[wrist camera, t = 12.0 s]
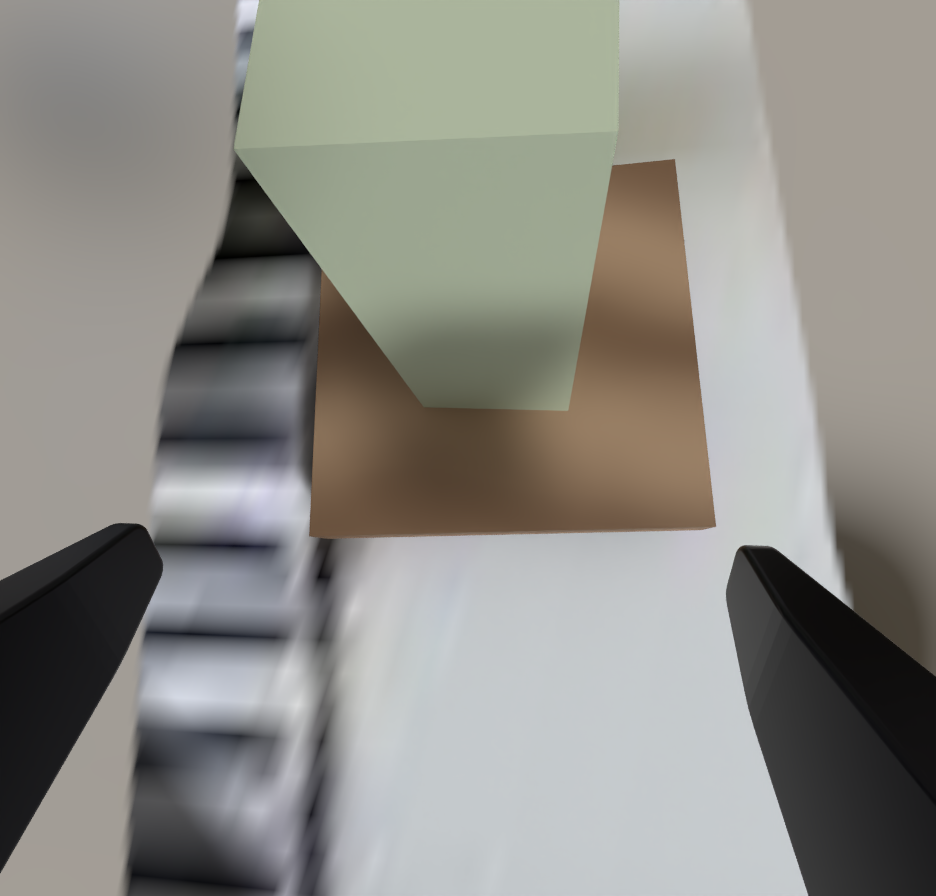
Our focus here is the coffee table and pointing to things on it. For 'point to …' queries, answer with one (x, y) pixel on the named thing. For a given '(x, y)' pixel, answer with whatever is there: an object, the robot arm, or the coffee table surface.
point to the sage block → (444, 176)
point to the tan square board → (532, 431)
